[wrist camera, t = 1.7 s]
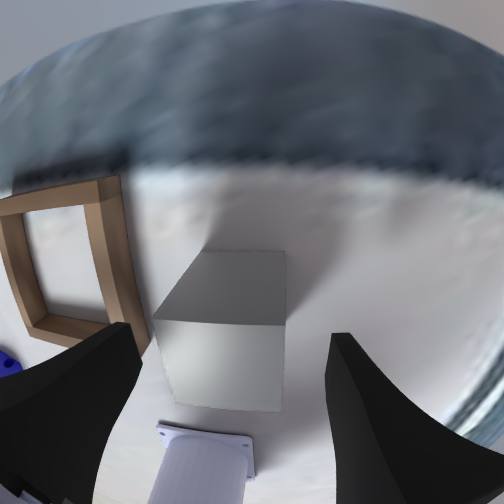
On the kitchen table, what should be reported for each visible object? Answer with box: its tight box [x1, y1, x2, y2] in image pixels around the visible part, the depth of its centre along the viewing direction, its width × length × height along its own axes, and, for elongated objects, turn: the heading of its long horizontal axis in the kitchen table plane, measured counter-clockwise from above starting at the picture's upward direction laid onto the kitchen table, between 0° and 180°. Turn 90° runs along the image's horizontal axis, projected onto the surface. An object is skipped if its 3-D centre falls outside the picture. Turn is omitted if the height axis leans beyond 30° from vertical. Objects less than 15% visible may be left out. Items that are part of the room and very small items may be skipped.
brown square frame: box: [0, 175, 151, 357], centre depth 14 cm, size 10×10×2 cm
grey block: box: [151, 251, 285, 412], centre depth 11 cm, size 4×4×6 cm
